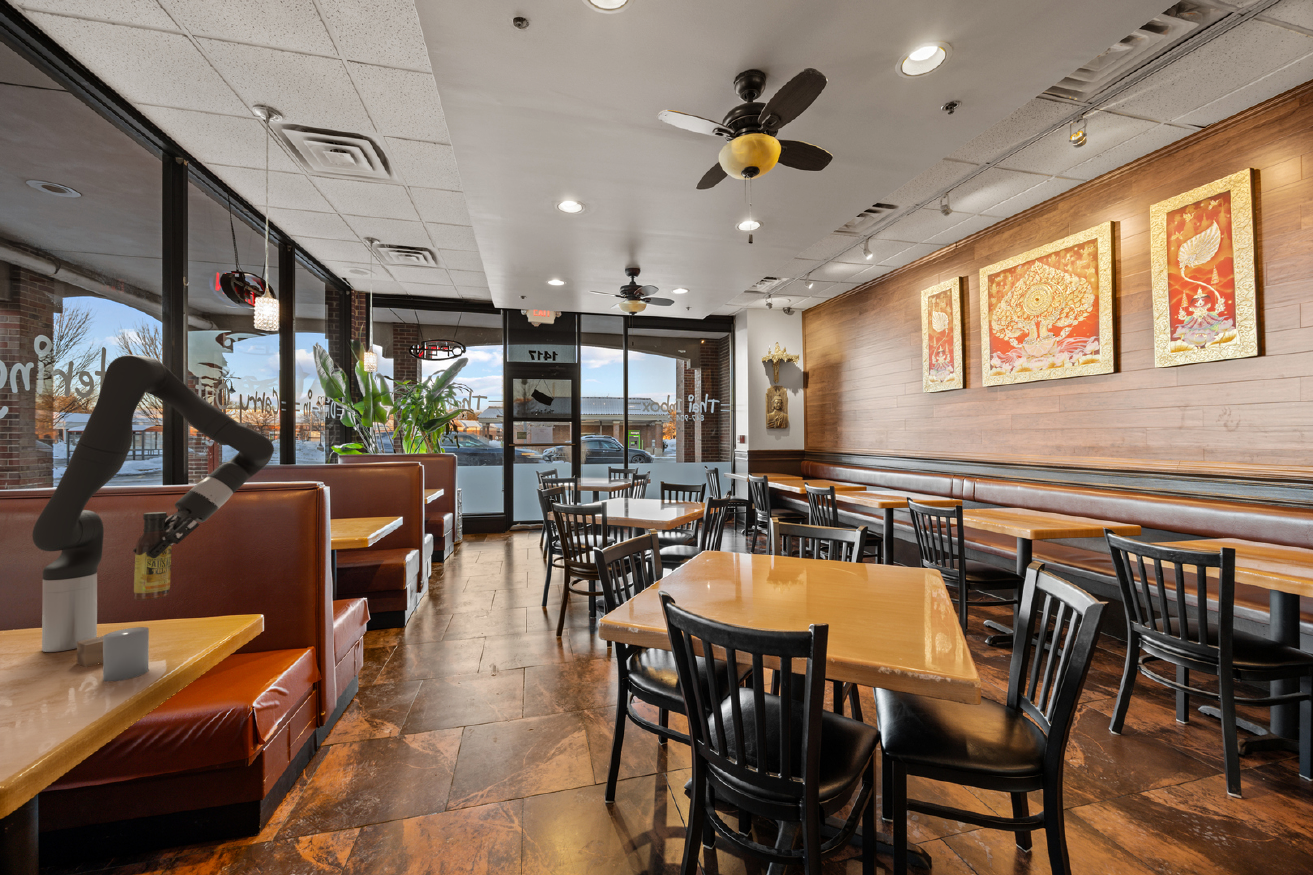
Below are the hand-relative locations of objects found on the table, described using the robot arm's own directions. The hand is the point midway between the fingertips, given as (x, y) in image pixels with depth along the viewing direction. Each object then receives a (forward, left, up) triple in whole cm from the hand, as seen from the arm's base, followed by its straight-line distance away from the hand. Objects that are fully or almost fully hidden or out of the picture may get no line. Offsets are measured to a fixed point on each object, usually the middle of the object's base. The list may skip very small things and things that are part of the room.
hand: (143, 554), depth 125 cm
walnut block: (-8, -5, -24) cm, 26 cm away
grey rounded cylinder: (+8, -5, -24) cm, 26 cm away
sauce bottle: (0, +2, -11) cm, 11 cm away
